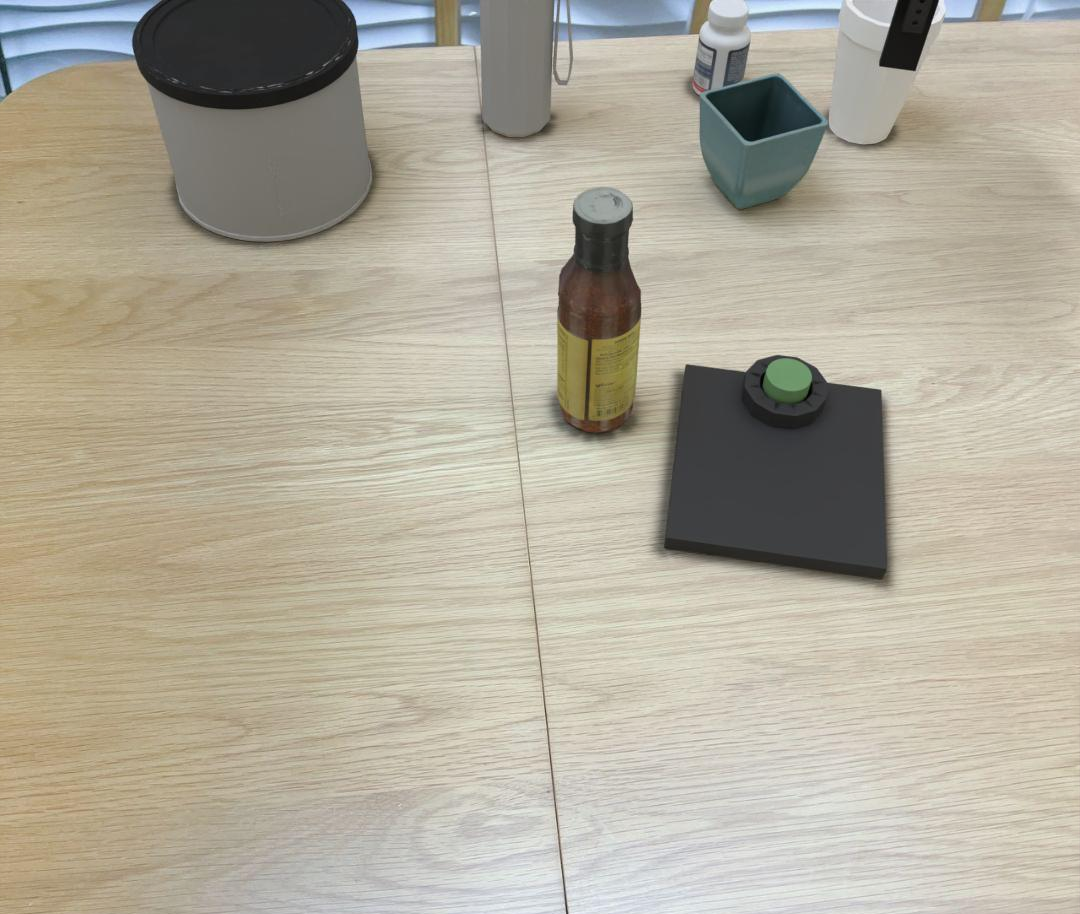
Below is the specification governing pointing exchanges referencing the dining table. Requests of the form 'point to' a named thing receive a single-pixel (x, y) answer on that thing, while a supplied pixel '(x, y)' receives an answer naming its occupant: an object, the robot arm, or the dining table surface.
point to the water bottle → (519, 63)
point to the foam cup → (870, 72)
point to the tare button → (787, 381)
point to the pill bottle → (722, 46)
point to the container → (258, 112)
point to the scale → (779, 473)
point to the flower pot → (758, 138)
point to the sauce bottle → (598, 315)
